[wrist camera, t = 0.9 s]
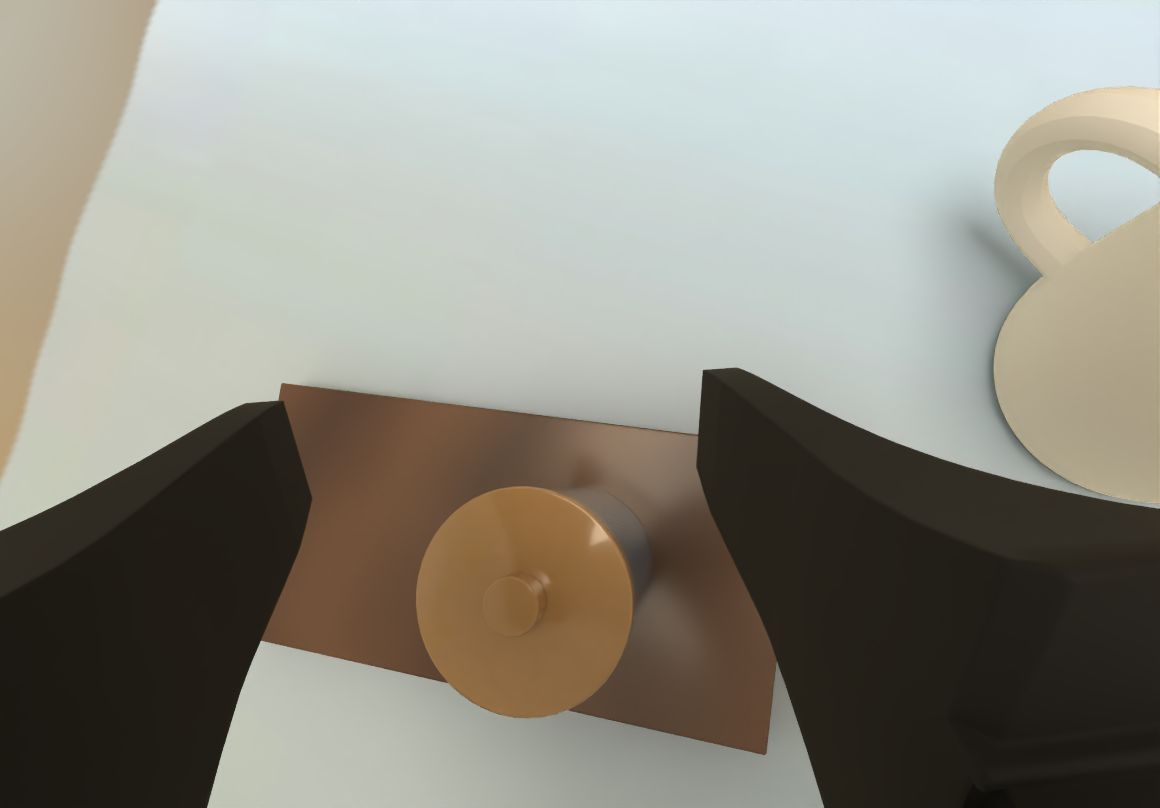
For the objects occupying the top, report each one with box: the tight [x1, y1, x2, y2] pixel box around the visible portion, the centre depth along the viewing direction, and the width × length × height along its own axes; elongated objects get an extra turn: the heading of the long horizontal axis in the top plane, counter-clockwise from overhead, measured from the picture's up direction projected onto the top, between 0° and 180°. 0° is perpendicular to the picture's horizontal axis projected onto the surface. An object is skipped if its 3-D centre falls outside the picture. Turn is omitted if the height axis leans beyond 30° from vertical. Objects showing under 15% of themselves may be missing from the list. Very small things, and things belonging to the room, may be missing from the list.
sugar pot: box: [416, 486, 653, 718], centre depth 19 cm, size 6×6×8 cm
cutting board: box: [261, 383, 776, 755], centre depth 24 cm, size 20×10×2 cm, turn 82°
